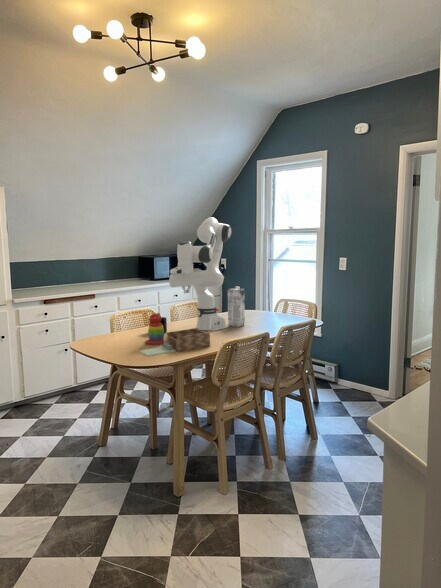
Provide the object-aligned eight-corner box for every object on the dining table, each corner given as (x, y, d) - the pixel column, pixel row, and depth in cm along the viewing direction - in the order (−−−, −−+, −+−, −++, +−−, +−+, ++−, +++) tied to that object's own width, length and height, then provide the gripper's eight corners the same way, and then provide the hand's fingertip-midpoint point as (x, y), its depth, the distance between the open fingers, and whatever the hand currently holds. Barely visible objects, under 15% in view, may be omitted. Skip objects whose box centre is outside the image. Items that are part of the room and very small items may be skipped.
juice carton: (238, 327, 292) (238, 288, 288) (226, 325, 298) (225, 287, 294) (246, 325, 299) (246, 286, 295) (233, 323, 305) (233, 285, 301)
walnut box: (197, 341, 257) (197, 327, 256) (210, 346, 246) (209, 332, 245) (167, 346, 247) (166, 332, 246) (178, 352, 235) (178, 337, 234)
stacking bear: (157, 339, 262) (156, 311, 260) (168, 342, 256) (167, 312, 253) (143, 343, 254) (142, 313, 251) (155, 346, 248) (153, 315, 245)
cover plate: (167, 347, 246) (167, 341, 245) (176, 352, 237) (176, 345, 236) (139, 352, 237) (139, 346, 237) (147, 357, 228) (147, 350, 227)
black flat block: (164, 333, 277) (164, 318, 276) (150, 333, 279) (149, 318, 278) (166, 332, 282) (166, 317, 280) (152, 331, 284) (151, 316, 282)
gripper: (198, 267, 258) (199, 290, 260) (167, 270, 247) (168, 294, 250) (203, 268, 253) (204, 291, 255) (172, 271, 242) (173, 295, 245)
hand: (186, 293), depth 252 cm, fingers closed
